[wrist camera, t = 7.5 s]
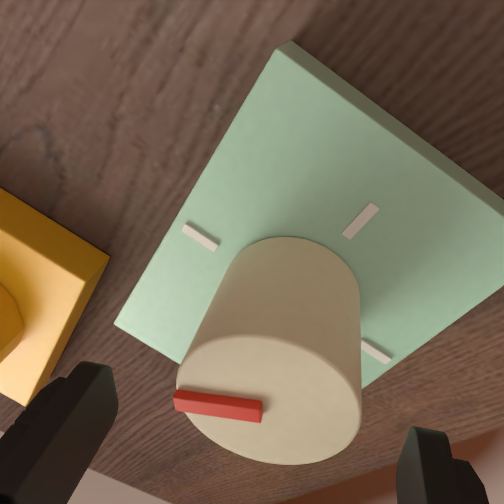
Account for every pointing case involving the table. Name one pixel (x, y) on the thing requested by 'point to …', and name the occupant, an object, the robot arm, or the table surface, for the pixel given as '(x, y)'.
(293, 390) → the knob
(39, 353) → the housing
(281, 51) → the green dial base plate
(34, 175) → the table surface
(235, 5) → the table surface
